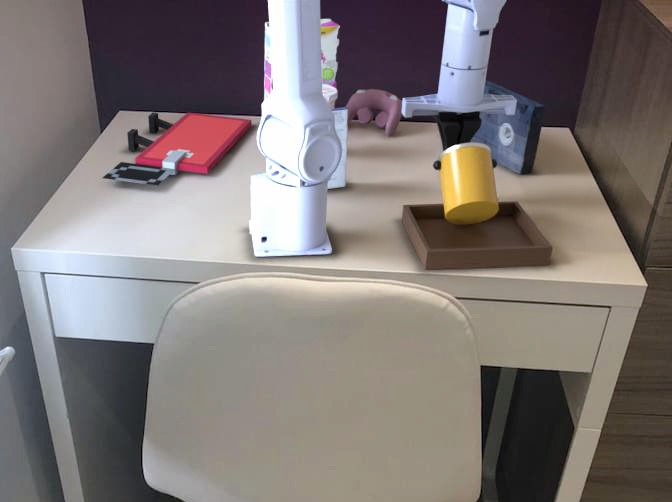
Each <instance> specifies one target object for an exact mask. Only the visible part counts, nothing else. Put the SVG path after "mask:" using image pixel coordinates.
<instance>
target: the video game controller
mask: <svg viewBox="0 0 672 502" xmlns="http://www.w3.org/2000/svg"><path fill="white" fill-rule="evenodd" d="M345 107H348V125H349V124H350V123H351V122H352V121H353V120H354V118H355V116H356V115H357V118H358V121H359V122H360V123H361V124H363V125H370V124H371V123H372V122H373V120H374V123H375V125H376V126H377V127H378V128H380V129H385V134H386V136H388V137H390V136H392V135H393V134H394V133H395V132H396V130H397V128H398V127H399V125H400V122H401V118H402V117H403V114H402V113H401V111H402V100H401V99H400V98H399V97H398V96H396V95H395V94H393V93H390V92H388V91H386V90H381V89H376V88H370V89H358V90H357V91H356V92H355V93H353V94H352V95H351V96H350V98H349V100H348V101H347V103H346V105H345ZM372 109H377V110H380V112H379V113H377V115H376V116H375V119H374V114H373V111H372Z"/></svg>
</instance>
